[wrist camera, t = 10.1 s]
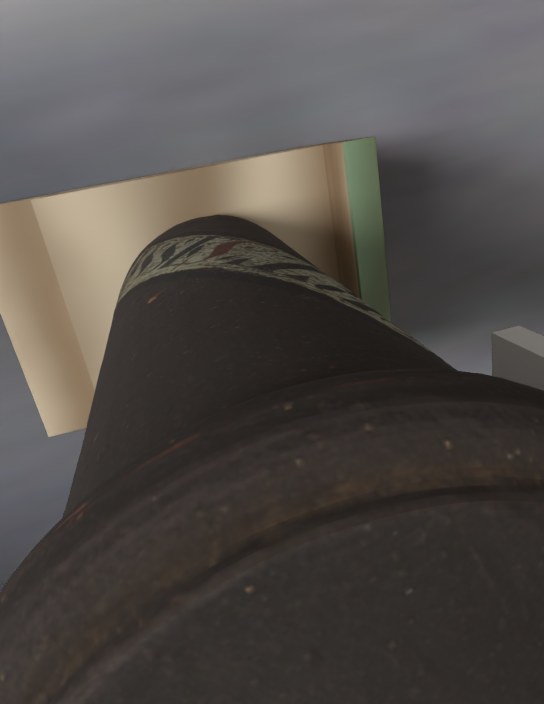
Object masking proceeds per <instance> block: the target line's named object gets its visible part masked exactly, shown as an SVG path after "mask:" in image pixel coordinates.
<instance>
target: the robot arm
mask: <svg viewBox="0 0 544 704" xmlns="http://www.w3.org/2000/svg"><path fill="white" fill-rule="evenodd" d="M492 376H495V377H500V378H504V379H507V380H510V381H514V382H517V383H521V384H524V385H528V386H531V387H534V388H537V389H540V390H544V336H543V335H540V334H538V333H535V332H533V331H531V330H528V329H526V328H524V327H521V326H516V327H512V328H508V329H504V330H500V331H496V332H492Z"/></svg>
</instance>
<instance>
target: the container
mask: <svg viewBox="0 0 544 704" xmlns="http://www.w3.org/2000/svg"><path fill="white" fill-rule="evenodd" d="M0 704H544V390H540V389H537V388H534V387H531V386H528V385H524V384H521V383H517V382H514V381H510V380H507V379H504V378H500V377H495V376H489V375H485V374H479V373H470V372H462V371H457V370H456V369H454V368H453V367H452V366H450V365H449V364H448V363H446V362H445V361H444V360H443V359H441V358H440V357H438V356H437V355H436V354H434V353H433V352H431V351H430V350H428V349H427V348H426V347H425V346H424V345H422V344H421V343H419V342H418V341H417V340H415V339H414V338H412V337H411V336H409V335H408V334H406V333H405V332H403V331H402V330H400V329H399V328H398V327H397V326H395V325H394V324H393V323H391V322H390V321H389V320H388V319H386V318H385V317H384V316H382V315H381V314H380V313H378V312H377V311H376V310H374V309H373V308H372V307H371V306H369V305H368V304H367V303H366V302H364V301H363V300H362V299H360V298H359V297H358V296H356V295H355V294H354V293H352V292H351V291H350V290H348V289H347V288H346V287H345V286H343V285H342V284H340V283H338V282H336V281H335V280H334V279H332V278H331V277H330V276H328V275H327V274H326V273H324V272H323V271H321V270H320V269H319V268H317V267H316V266H315V265H313V264H312V263H311V262H309V261H308V260H307V259H305V258H304V257H303V256H301V255H300V254H299V253H297V252H296V251H295V250H293V249H292V248H291V247H289V246H288V245H287V244H285V243H284V242H283V241H282V240H280V239H279V238H277V237H276V236H275V235H273V234H272V233H271V232H269V231H268V230H266V229H264V228H262V227H261V226H259V225H257V224H255V223H253V222H251V221H248V220H246V219H242V218H239V217H234V216H228V215H219V214H217V215H213V216H207V217H199V218H195V219H191V220H188V221H185V222H182V223H180V224H177V225H175V226H173V227H172V228H170V229H168V230H167V231H165V232H164V233H162V234H161V235H159V236H158V237H157V238H155V239H154V240H153V241H152V242H150V243H149V244H148V245H147V246H146V247H145V248H144V249H143V250H142V251H141V253H140V254H139V255H138V256H137V258H136V259H135V261H134V262H133V264H132V265H131V267H130V269H129V271H128V273H127V275H126V277H125V279H124V282H123V284H122V287H121V290H120V293H119V296H118V300H117V303H116V307H115V310H114V313H113V320H112V324H111V328H110V332H109V336H108V340H107V345H106V349H105V353H104V357H103V361H102V365H101V368H100V372H99V376H98V380H97V384H96V388H95V393H94V397H93V401H92V406H91V410H90V413H89V418H88V422H87V428H86V433H85V437H84V441H83V445H82V449H81V453H80V456H79V460H78V463H77V467H76V471H75V475H74V479H73V483H72V487H71V491H70V495H69V498H68V502H67V505H66V509H65V511H64V514H63V518H62V519H61V520H60V521H59V522H58V523H57V524H56V525H55V526H54V527H53V528H52V529H51V530H50V531H49V532H48V533H47V534H46V535H45V536H44V538H43V539H42V540H41V541H40V542H39V543H38V544H37V545H36V546H35V547H34V549H33V550H32V551H31V552H30V553H29V554H28V556H27V557H26V558H25V559H24V561H23V562H22V563H21V565H20V566H19V567H18V568H17V569H16V571H15V572H14V573H13V574H12V576H11V577H10V579H9V580H8V582H7V583H6V585H5V586H4V587H3V589H2V590H1V592H0Z"/></svg>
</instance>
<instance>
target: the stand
mask: <svg viewBox="0 0 544 704" xmlns="http://www.w3.org/2000/svg"><path fill="white" fill-rule="evenodd" d="M217 214H219V215H228V216H234V217H239V218H242V219H246V220H248V221H251V222H253V223H255V224H257V225H259V226H261V227H262V228H264V229H266V230H268V231H269V232H271V233H272V234H273V235H275V236H276V237H277V238H279V239H280V240H282V241H283V242H284V243H285V244H287V245H288V246H289V247H291V248H292V249H293V250H295V251H296V252H297V253H299V254H300V255H301V256H303V257H304V258H305V259H307V260H308V261H309V262H311V263H312V264H313V265H315V266H316V267H317V268H319V269H320V270H321V271H323V272H324V273H326V274H327V275H328V276H330V277H331V278H332V279H334V280H335V281H336V282H338V283H340V284H342V285H343V286H345V287H346V288H347V289H348V290H350V291H351V292H352V293H354V294H355V295H356V296H358V297H359V298H360V299H362V300H363V301H364V302H366V303H367V304H368V305H369V306H371V307H372V308H373V309H374V310H376V311H377V312H378V313H380V314H381V315H382V316H384V317H385V318H386V319H388V320H389V321H390V322H391V323H392V321H391V309H390V298H389V287H388V275H387V264H386V253H385V241H384V230H383V219H382V207H381V196H380V185H379V173H378V162H377V151H376V140H375V136H374V137H367V138H360V139H352V140H345V141H338V142H331V143H324V144H317V145H309V146H303V147H298V148H293V149H287V150H282V151H277V152H271V153H266V154H261V155H255V156H250V157H245V158H239V159H234V160H229V161H223V162H218V163H213V164H207V165H202V166H197V167H191V168H186V169H181V170H175V171H170V172H165V173H159V174H154V175H149V176H143V177H138V178H133V179H127V180H122V181H117V182H111V183H106V184H101V185H95V186H90V187H85V188H79V189H74V190H69V191H63V192H58V193H53V194H47V195H42V196H37V197H31V198H26V199H21V200H15V201H10V202H5V203H0V313H1V316H2V318H3V321H4V323H5V326H6V328H7V331H8V334H9V336H10V339H11V341H12V344H13V346H14V349H15V352H16V354H17V357H18V359H19V362H20V364H21V367H22V369H23V372H24V375H25V377H26V380H27V382H28V385H29V387H30V390H31V393H32V395H33V398H34V400H35V403H36V405H37V408H38V410H39V413H40V416H41V418H42V421H43V423H44V426H45V428H46V431H47V434H48V436H49V437H50V436H54V435H58V434H62V433H67V432H71V431H75V430H79V429H83V428H87V422H88V418H89V413H90V410H91V406H92V401H93V397H94V393H95V388H96V384H97V380H98V376H99V372H100V368H101V365H102V361H103V357H104V353H105V349H106V345H107V340H108V336H109V332H110V328H111V324H112V320H113V313H114V310H115V307H116V303H117V300H118V296H119V293H120V290H121V287H122V284H123V282H124V279H125V277H126V275H127V273H128V271H129V269H130V267H131V265H132V264H133V262H134V261H135V259H136V258H137V256H138V255H139V254H140V253H141V251H142V250H143V249H144V248H145V247H146V246H147V245H148V244H149V243H150V242H152V241H153V240H154V239H155V238H157V237H158V236H159V235H161V234H162V233H164V232H165V231H167V230H168V229H170V228H172V227H173V226H175V225H177V224H180V223H182V222H185V221H188V220H191V219H195V218H199V217H207V216H213V215H217Z"/></svg>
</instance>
